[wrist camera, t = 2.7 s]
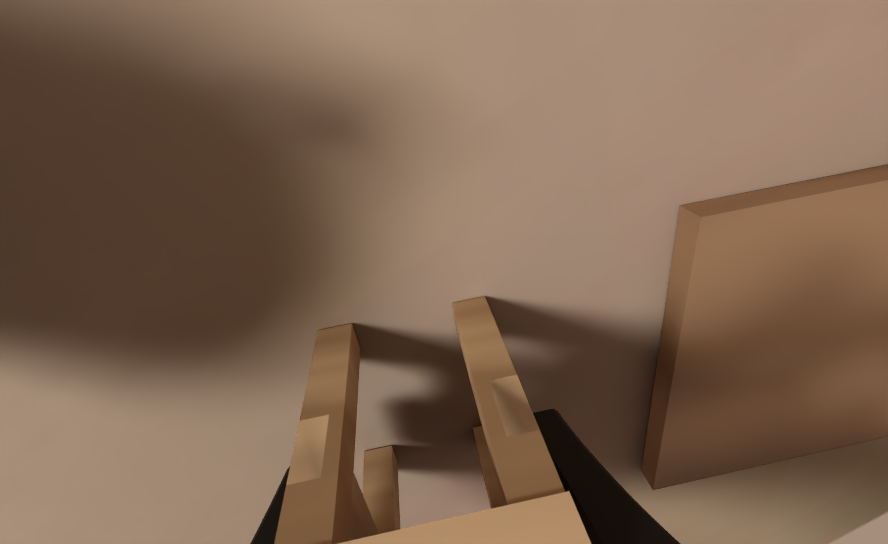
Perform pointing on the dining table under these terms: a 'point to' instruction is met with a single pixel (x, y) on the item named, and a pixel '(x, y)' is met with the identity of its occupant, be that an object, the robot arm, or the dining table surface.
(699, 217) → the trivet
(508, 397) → the stool
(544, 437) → the robot arm
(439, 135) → the dining table surface
